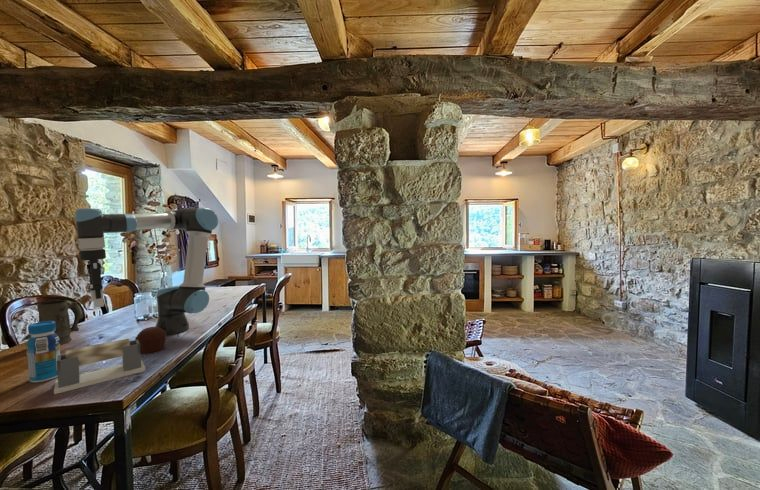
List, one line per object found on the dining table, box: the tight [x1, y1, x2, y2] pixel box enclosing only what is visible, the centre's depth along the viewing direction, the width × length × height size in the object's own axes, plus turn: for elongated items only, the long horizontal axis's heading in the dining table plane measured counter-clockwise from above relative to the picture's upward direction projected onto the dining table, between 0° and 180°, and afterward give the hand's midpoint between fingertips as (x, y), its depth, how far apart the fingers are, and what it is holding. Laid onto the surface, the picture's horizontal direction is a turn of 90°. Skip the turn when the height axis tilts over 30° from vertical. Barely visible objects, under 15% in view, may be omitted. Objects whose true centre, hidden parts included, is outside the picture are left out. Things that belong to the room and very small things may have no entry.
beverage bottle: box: [25, 321, 61, 383], centre depth 115 cm, size 8×8×20 cm
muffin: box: [134, 326, 167, 355], centre depth 139 cm, size 12×11×10 cm
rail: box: [65, 338, 131, 367], centre depth 114 cm, size 17×4×5 cm, turn 133°
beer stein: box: [36, 300, 82, 346], centre depth 152 cm, size 15×11×20 cm
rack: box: [53, 339, 146, 395], centre depth 115 cm, size 24×10×10 cm, turn 133°
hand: (97, 303), depth 123 cm, fingers open, 13 cm apart
